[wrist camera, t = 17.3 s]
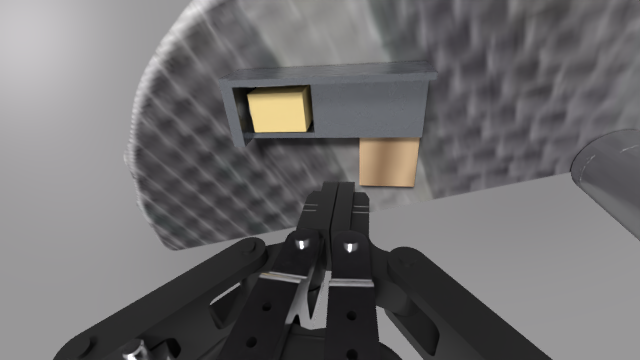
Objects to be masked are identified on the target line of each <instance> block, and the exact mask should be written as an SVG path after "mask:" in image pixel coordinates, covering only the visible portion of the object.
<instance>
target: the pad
mask: <svg viewBox="0 0 640 360" xmlns="http://www.w3.org/2000/svg"><path fill="white" fill-rule="evenodd" d="M419 139H420V137H379V138H360V185H370V186H411V187H414V181H415V173H416V164H417V156H418V148H419Z"/></svg>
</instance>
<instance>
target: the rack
mask: <svg viewBox="0 0 640 360" xmlns="http://www.w3.org/2000/svg"><path fill="white" fill-rule="evenodd" d="M437 73H438V72H437V71H436V70H435V69H434V68H433V67H432V66H431V65H430V64H429V63H428V62H427V61H409V62H388V63H368V64H347V65H326V66H306V67H285V68H264V69H244V70H237V71H235V72H233V73H231V74H228V75H226V76H224V77H222V78H220V79H218V81H219V85H220V89H221V93H222V97H223V101H224V105H225V110H226V114H227V118H228V122H229V126H230V130H231V134H232V138H233V142H234V146H235V147H246V146H247V144H248V143H249V142H250V141H251V140H252V139H253V138H379V137H422V133H423V124H424V116H425V108H426V100H427V92H428V84H429V80H437ZM285 85H311V95H312V107H313V119H314V125H309V127H308V129H307V131H306V132H255V130H254V125H253V120H252V117H251V115H250V111H249V101H248V96H247V94H249V93H250V92H252V91H253V90H252V87H266V86H285Z"/></svg>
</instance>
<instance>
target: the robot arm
mask: <svg viewBox="0 0 640 360" xmlns="http://www.w3.org/2000/svg"><path fill="white" fill-rule="evenodd" d="M571 176H572V179H573V181H574V182H575V184H576V185H577V186H579V187H580V188H581V189H582V190H583V191H584V192H585V193H586V194H588V195H589V196H590V197H591V198H592V199H593V200H594V201H595V202H596V203H598V204H599V205H600V206H601V207H602V208H603V209H604V210H606V211H607V212H608V213H609V214H610V215H611V216H612V217H613V218H615V219H616V220H617V221H618V222H619V223H620V224H621V225H622V226H624V227H625V228H626V229H627V230H628V231H629V232H631V234H633V235H634V236H635V237H636V238H637V239H638V240H639V241H640V131H637V130H623V131H617V132H613V133H610V134H607V135H605V136H602V137H600V138H598V139H596V140H595V141H593V142H591V143H590V144H589V145H587V146H586V147H585V148H584V149H583V150H582V151H581V152H580V153H579V154H578V155H577V157H576V158H575V160H574V162H573V165H572V168H571ZM326 271H331V281H329V288H328V303H327V317H326V328H320V329H313V325H314V321H315V317H316V314H317V310H318V306H319V302H320V299H321V295H322V291H323V287H324V277H325V272H326ZM238 282H240V285H239V286H238V287H236V288H235V289H233V290H232V291H230V292H229V293H227V294H226V295H225V296H223V297H222V298H220V299H219V300H217V301H216V302H214V303H213V304H212V305H210V303H211V301H212V300H213V299H215V298H216V297H217V296H219V295H220V294H222V293H223V292H225V291H226V290H228V289H229V288H231V287H232V286H234V285H235V284H237V283H238ZM376 306H379V307H382V308H384V310H385V313H386V315H387V316H388V317H389V319H390V320H391V321H392V322H393V323H394V324H395V326H396V327H397V328H398V329H399V331H400V332H401V333H402V334H403V335H404V336H405V338H406V339H407V340H408V341H409V342H410V344H411V345H412V346H413V347H414V348H415V350H416V351H417V352H418V353H419V354H420V356H421V357H422V358H423V359H424V360H552V359H551V358H550V357H548V356H547V355H546V354H545V353H544V352H542V351H541V350H540V349H538V348H537V347H536V346H535V345H534V344H533V343H531V342H530V341H529V340H528V339H526V338H525V337H524V336H523V335H521V334H520V333H519V332H518V331H517V330H515V329H514V328H513V327H512V326H511V325H509V324H508V323H507V322H506V321H504V320H503V319H502V318H501V317H499V316H498V315H497V314H496V313H494V312H493V311H492V310H491V309H490V308H488V307H487V306H486V305H485V304H484V303H482V302H481V301H480V300H479V299H477V298H476V297H475V296H474V295H473V294H471V293H470V292H469V291H468V290H466V289H465V288H464V287H463V286H461V285H460V284H459V283H458V282H457V281H455V280H454V279H453V278H452V277H451V276H449V275H448V274H447V273H446V272H444V271H443V270H442V269H441V268H440V267H438V266H437V265H436V264H435V263H433V262H432V261H431V260H430V259H428V258H427V257H426V256H425V255H424V254H422V253H421V252H420V251H418V250H416V249H414V248H410V247H398V248H395V249H393V250H392V251H391V252H388V251H384V250H381V249H379V248H377V247H376V246H375V245H373V244H372V242H371V241H370V239H369V198H368V196H367V195H366V193H364V192H355V182H340V183H339V182H325V181H324V183H323V186H322V190H321V191H313V192H312V193H311V194H310V195H309V196H308V197H307V199H306V201H305V205H304V207H303V211H302V213H301V216H300V219H299V222H298V225H297V228H296V230H294V231H292V232H291V233H289V235H288V236H287V237H286V239H285V241H284V242H282V243H278V244H273V245H268V246H265V242H264V241H263V240H262V239H259V238H256V237H249V238H245V239H242V240H241V241H239V242H237V243H235V244H233V245H232V246H230V247H228V248H226V249H225V250H223V251H221V252H220V253H218V254H216V255H214V256H213V257H211V258H209V259H207V260H206V261H204V262H202V263H201V264H199V265H197V266H195V267H194V268H192V269H190V270H189V271H187V272H185V273H183V274H182V275H180V276H178V277H176V278H175V279H173V280H171V281H170V282H168V283H166V284H165V285H163V286H161V287H159V288H158V289H156V290H154V291H152V292H151V293H149V294H147V295H146V296H144V297H142V298H141V299H139V300H137V301H135V302H134V303H132V304H130V305H129V306H127V307H125V308H123V309H121V310H120V311H118V312H116V313H115V314H113V315H111V316H109V317H108V318H106V319H104V320H103V321H101V322H99V323H97V324H96V325H94V326H92V327H91V328H89V329H87V330H85V331H84V332H82V333H80V334H78V335H77V336H75V337H74V338H72V339H71V340H70V341H68V342H67V343H66V344H65V345H64V346H63V347H62V348H61V349H60V351H59V352H58V353H57V354H56V356H55V357H54V359H53V360H402V359H401V358H400V357H399V355H397V354H396V353H395V352H394V351H393V350H392V349H390V348H389V347H387V346H386V345H384V344H383V343H381V342H379V332H378V322H377V312H376Z"/></svg>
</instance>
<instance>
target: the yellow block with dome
mask: <svg viewBox="0 0 640 360" xmlns="http://www.w3.org/2000/svg"><path fill="white" fill-rule="evenodd" d="M247 96H248V101H249V111H250V115H251V117H252V120H253V125H254V130H255V132H306V131H307V129H308V127H309V125H310V123H311V122H312V120H313V112H312V102H311V91H310V85H285V86H266V87H257V88H256V89H254V90H253V91H252V92H250V93H249V94H247Z"/></svg>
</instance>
